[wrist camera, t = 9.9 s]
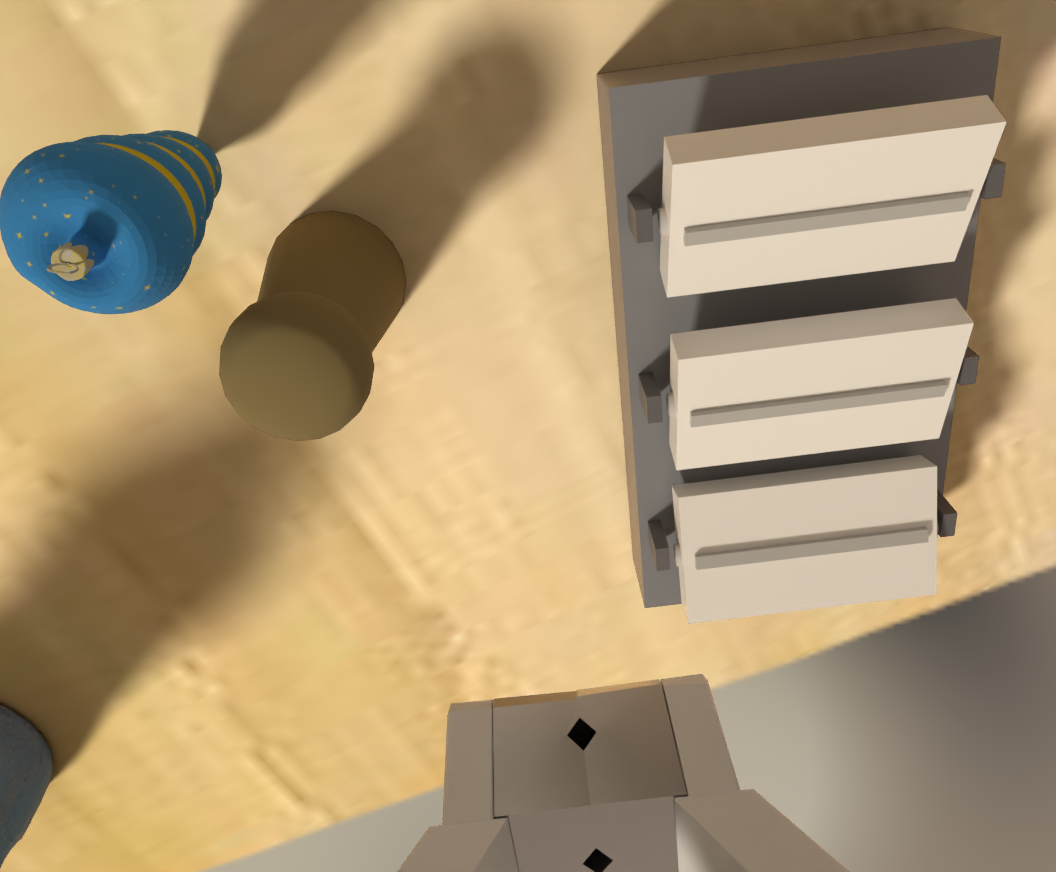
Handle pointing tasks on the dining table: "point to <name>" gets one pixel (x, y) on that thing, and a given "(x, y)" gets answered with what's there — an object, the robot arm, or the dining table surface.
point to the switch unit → (650, 317)
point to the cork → (313, 327)
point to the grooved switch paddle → (806, 538)
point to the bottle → (20, 776)
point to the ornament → (110, 217)
